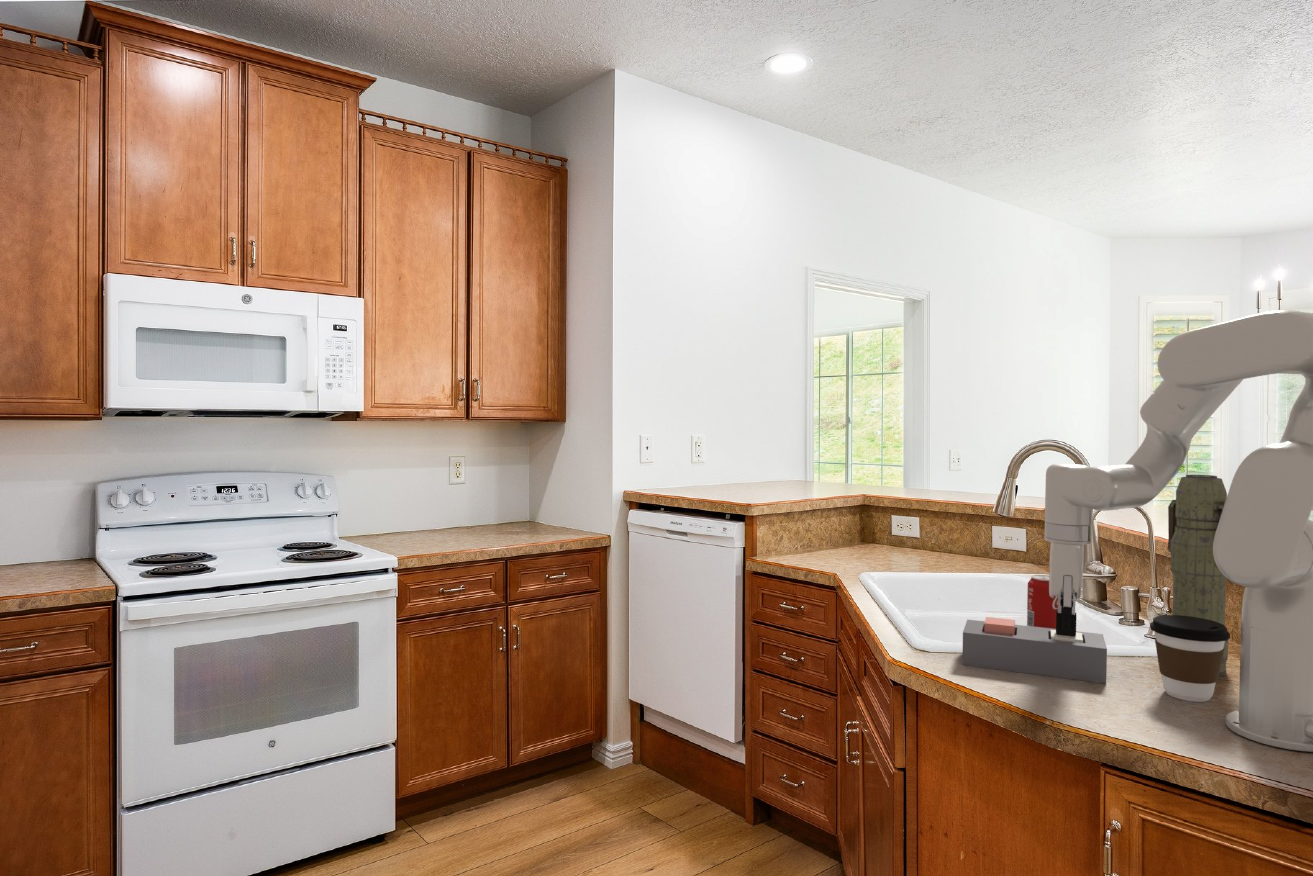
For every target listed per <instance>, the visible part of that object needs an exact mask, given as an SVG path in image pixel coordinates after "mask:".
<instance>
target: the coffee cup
mask: <svg viewBox="0 0 1313 876" xmlns="http://www.w3.org/2000/svg"><path fill="white" fill-rule="evenodd" d="M1149 628H1150V630H1151V631H1152V632H1154V636H1155V638H1154V643H1155V649H1156V654H1157V655H1156V656H1157V661H1158V662H1157V663H1158V669H1159V670H1158V671H1159V673H1160V674H1161V680H1162V686H1163V688H1164V691H1165V693H1166V694H1167V695H1169V696H1170V697H1173V698H1175V699H1179V700H1181V701H1182V700H1183V701H1186V702H1187V701H1188V702H1194V703H1197V702H1199V703H1203V702H1208V701H1210V700H1211V699H1212V697H1213V695H1214V693H1215V688H1216V682H1218V679H1219V677H1220V676H1219V672H1220V667H1221V662H1222V658H1223V653H1224V648H1223V647H1224V643H1225V641H1227V640H1228V641H1229V639H1231V634H1230V632H1229V631H1228V628H1227V627H1226V625H1225V626H1224V625H1223V624H1221V623H1218V622H1215V621H1212V620H1208V619H1203V618H1197V617H1191V616H1181V615H1172V614H1164V615H1157V616H1155V617H1154V618H1152V622H1150V623H1149ZM1218 676H1219V677H1218Z"/></svg>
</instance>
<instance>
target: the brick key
mask: <svg viewBox="0 0 1313 876" xmlns="http://www.w3.org/2000/svg"><path fill="white" fill-rule="evenodd" d="M984 621H985V623H984V632H990V633H999V634H1008V635H1015V625H1016V620H1015V619H1010V618H1001V617H992V616H991V617H990V616H986V617H985V619H984Z"/></svg>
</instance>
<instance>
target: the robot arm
mask: <svg viewBox="0 0 1313 876" xmlns="http://www.w3.org/2000/svg"><path fill="white" fill-rule="evenodd" d="M1157 358H1158V359H1157V363H1156V365H1157V370H1158V373H1159V374H1160V377H1161V378H1162V380H1161V382H1160V383H1159V384H1158V386H1157V387H1156V388H1155V390H1154V391H1152V393H1151V394H1150V396H1148V398H1147V400H1146V401H1145V402H1144V403H1143V404H1142V405H1141V407H1140V411H1139V414H1140V418H1141V419H1142V421H1143V422H1144V423H1145V424H1146V433H1145V437H1144V439H1143V441H1142V442H1141V444H1140V446H1138V448H1137V450H1136V451H1135V452H1134V454H1132V456H1131V457H1130V458H1129V459H1128V460H1127V461H1126V462H1125V463H1124V464H1116V465H1115V464H1112V465H1100V466H1091V467H1090V466H1087V465H1085V464H1079V463H1078V464H1077V463H1054V464H1051V465H1049V466H1048V467H1047V469H1046V471H1045V489H1044V490H1045V494H1044V495H1045V496H1044V497H1045V500H1044V541H1046V542H1050V547H1049V571H1048V572H1049V574H1048V575H1049V595H1050V597H1052V598H1054V596H1058V611H1056V634H1057V635H1064V636H1073V637H1075V636H1076V631H1077V612H1076V601H1078V600H1080V599H1081V595H1082V587H1083V577H1084V558H1085V556H1084V553H1085V552H1084V551H1085V545H1090V544H1092V542H1093V540H1092V539H1093V510H1094V511H1102V512H1104V511H1106V512H1108V511H1117V510H1123V509H1133V508H1140V507H1142V506H1145V505H1146V504H1149V503H1151V501H1153V500H1154V499H1155V498H1156V497H1157V496H1158V495H1159V494H1160V493H1161V492H1162V491H1163V490H1164V488H1166V486H1167V485H1169V483H1170V482H1171V481H1172V480H1173V479H1174V478H1175V476H1176V475H1177V474H1178V473H1179V471H1180V470H1181V468H1182V466H1184V462H1185V460H1186V459H1187V455H1188V453H1189V451H1190V448H1191V443H1192V440H1193V438H1194V437H1195V435H1196V434H1197V433H1198V432H1199V430H1200V429H1201V428H1203V426H1204V424H1206V422H1207V421H1208V420H1209V419H1210V418H1211V416H1212V415H1213V414H1214V413H1215V412H1216V411H1217V410H1218V409H1219V407H1220V406H1221V405H1223V403H1224V402H1225V401H1226V400H1227V399H1228V398H1229V397H1230V395H1231V394H1232V393H1233V392H1234V391H1235V390H1236V388H1237V387H1238V386H1239V385H1240V384H1241V383H1242V382H1243V380H1246V379H1251V378H1256V377H1262V376H1268V375H1276V374H1279V375H1280V374H1284V375H1286V374H1287V375H1302V376H1303V377H1304V379H1305V383H1304V386H1303V388H1302V390H1301V392H1300V393H1299V395H1298V397H1297V398H1296V399H1295V401H1294V403H1293V405H1292V407H1291V410H1290V412H1289V416H1288V420H1287V424H1286V426H1285V429H1284V431H1283V435H1282V437H1281V439H1280V441H1279V443H1271V444H1267V445H1263V446H1261V447H1259V448H1256V449H1255V450H1253V451H1252V452H1250V453H1249V454H1248V455H1247V456H1246V457H1244V459H1243V460H1242V462H1241V463H1240V464H1239V465H1238V467H1237V469H1236V471H1235V473H1234V476H1233V478H1232V480H1231V483H1230V486H1229V490H1228V493H1227V499H1226V502H1225V505H1224V508H1223V511H1222V514H1221V517H1220V520H1219V524H1218V527H1217V530H1216V533H1215V537H1214V543H1213V555H1214V560H1215V562H1216V565H1217V567H1218V568H1219V570H1220V571H1221V573H1222V574H1223V575H1224V576H1225V577H1226V578H1227V579H1228V580H1229V581H1231V582H1232V583H1234V584H1236V585H1238V586H1241V587H1244V590H1243V595H1242V600H1241V601H1242V604H1241V621H1240V647H1239V648H1240V655H1239V656H1240V657H1239V692H1238V693H1239V694H1238V710H1235V711H1231V712H1228V713H1227V714H1226V716H1225V725H1226V726H1227V727H1228V729H1230V730H1231V731H1232V732H1233V733H1236V734H1237V735H1239V736H1241V737H1243V738H1246V739H1248V740H1251V741H1254V742H1257V743H1259V744H1264V745H1266V746H1271V747H1275V748H1280V749H1285V750H1290V751H1291V750H1292V751H1297V752H1298V751H1300V752H1311V753H1312V752H1313V521H1312V519H1309V517H1310V515H1311V512H1312V511H1313V312H1305V311H1297V310H1287V309H1286V310H1283V309H1282V310H1271V311H1265V312H1261V313H1257V314H1252V315H1248V316H1245V317H1241V318H1236V319H1233V320H1230V321H1229V320H1228V321H1225V322H1220V323H1217V324H1212V325H1209V326H1205V327H1200V328H1195V329H1192V330H1188V331H1184V332H1182V333H1180V334H1177V335H1176V336H1174V337H1172V338H1171V339H1170V340H1169V341H1168V342H1167V343H1165V345H1164V346H1162V349H1161V351H1160V352H1159V354H1158V357H1157Z"/></svg>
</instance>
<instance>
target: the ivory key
mask: <svg viewBox="0 0 1313 876" xmlns="http://www.w3.org/2000/svg"><path fill="white" fill-rule="evenodd" d="M1051 639H1052V640H1061V641H1070V642H1079V643H1083V637H1082V633H1077V632H1076V636H1075V637H1073V636H1064V635H1057V634H1056V630H1051Z"/></svg>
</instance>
